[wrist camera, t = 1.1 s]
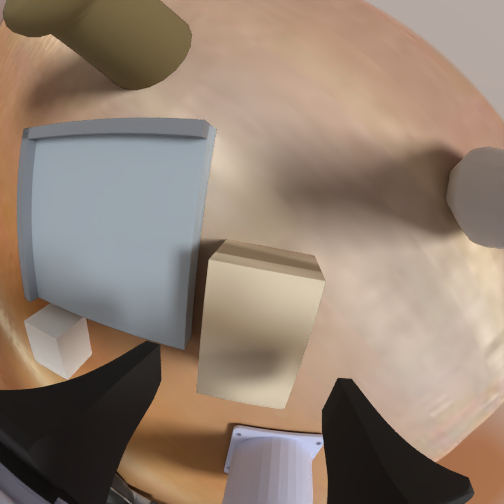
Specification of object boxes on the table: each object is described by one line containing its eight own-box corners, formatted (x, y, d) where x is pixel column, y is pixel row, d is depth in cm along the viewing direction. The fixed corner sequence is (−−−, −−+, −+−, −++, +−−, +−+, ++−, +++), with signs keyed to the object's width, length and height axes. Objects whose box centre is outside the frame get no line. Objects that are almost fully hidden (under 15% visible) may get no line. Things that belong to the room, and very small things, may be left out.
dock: (191, 337, 17) (179, 359, 15) (44, 288, 18) (25, 299, 15) (216, 129, 14) (204, 120, 11) (46, 130, 14) (23, 128, 12)
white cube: (92, 353, 19) (67, 379, 15) (60, 338, 19) (35, 360, 15) (86, 314, 18) (56, 338, 14) (53, 301, 18) (23, 320, 14)
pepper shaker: (109, 35, 12) (7, -24, 2) (188, 4, 11) (114, -99, 1) (109, 102, 14) (-30, 66, 3) (196, 72, 13) (85, -40, 2)
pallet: (284, 367, 17) (283, 409, 13) (211, 353, 17) (196, 392, 14) (314, 255, 15) (325, 281, 11) (226, 239, 15) (208, 259, 11)
